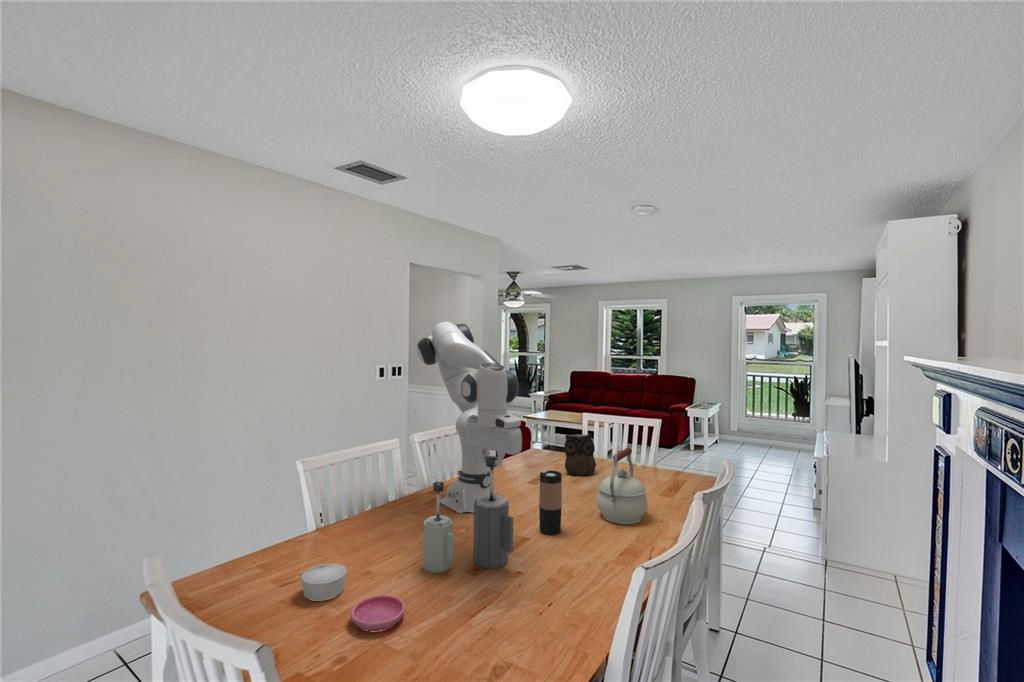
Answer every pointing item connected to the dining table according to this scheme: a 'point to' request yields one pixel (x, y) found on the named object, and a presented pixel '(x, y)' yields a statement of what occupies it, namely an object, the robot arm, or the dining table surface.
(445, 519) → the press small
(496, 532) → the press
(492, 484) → the plunger
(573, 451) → the owl
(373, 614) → the saucer
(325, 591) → the ramekin
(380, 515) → the dining table surface
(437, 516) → the plunger small
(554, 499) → the travel mug
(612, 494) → the kettle
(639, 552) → the dining table surface
